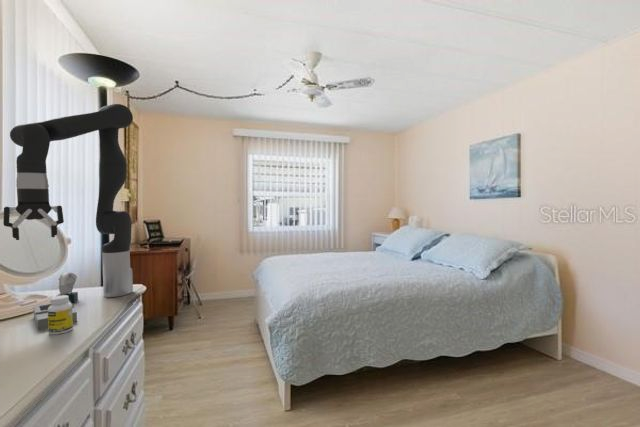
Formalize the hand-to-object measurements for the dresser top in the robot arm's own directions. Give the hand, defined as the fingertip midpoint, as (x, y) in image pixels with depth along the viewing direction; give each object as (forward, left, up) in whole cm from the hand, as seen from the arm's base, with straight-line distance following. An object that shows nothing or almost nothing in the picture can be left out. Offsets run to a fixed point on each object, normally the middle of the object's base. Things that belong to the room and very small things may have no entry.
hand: (35, 238), depth 102 cm
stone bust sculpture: (-13, -5, -25) cm, 29 cm away
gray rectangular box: (0, +6, -25) cm, 26 cm away
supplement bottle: (+8, +20, -25) cm, 33 cm away
